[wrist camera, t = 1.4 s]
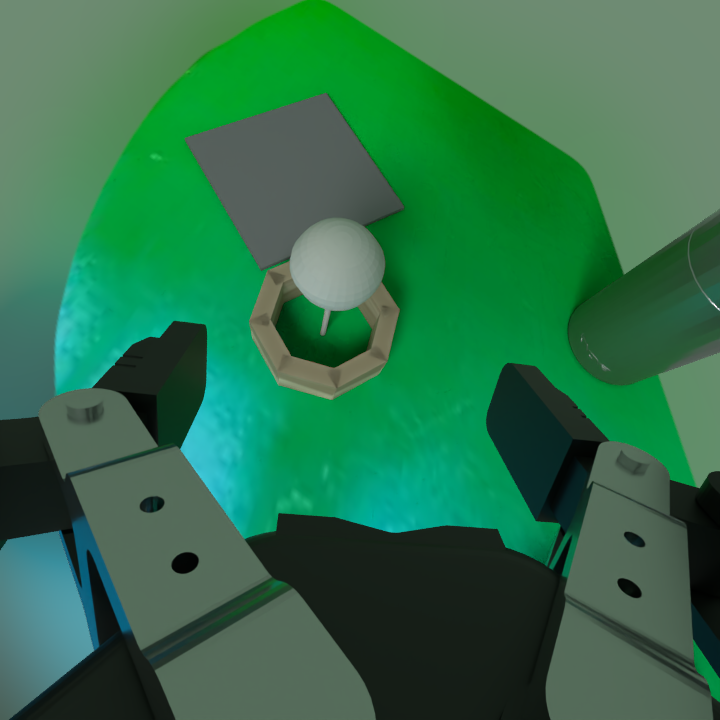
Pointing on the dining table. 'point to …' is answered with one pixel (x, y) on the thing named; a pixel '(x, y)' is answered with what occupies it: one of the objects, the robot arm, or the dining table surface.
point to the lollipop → (337, 265)
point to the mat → (291, 175)
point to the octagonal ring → (310, 374)
